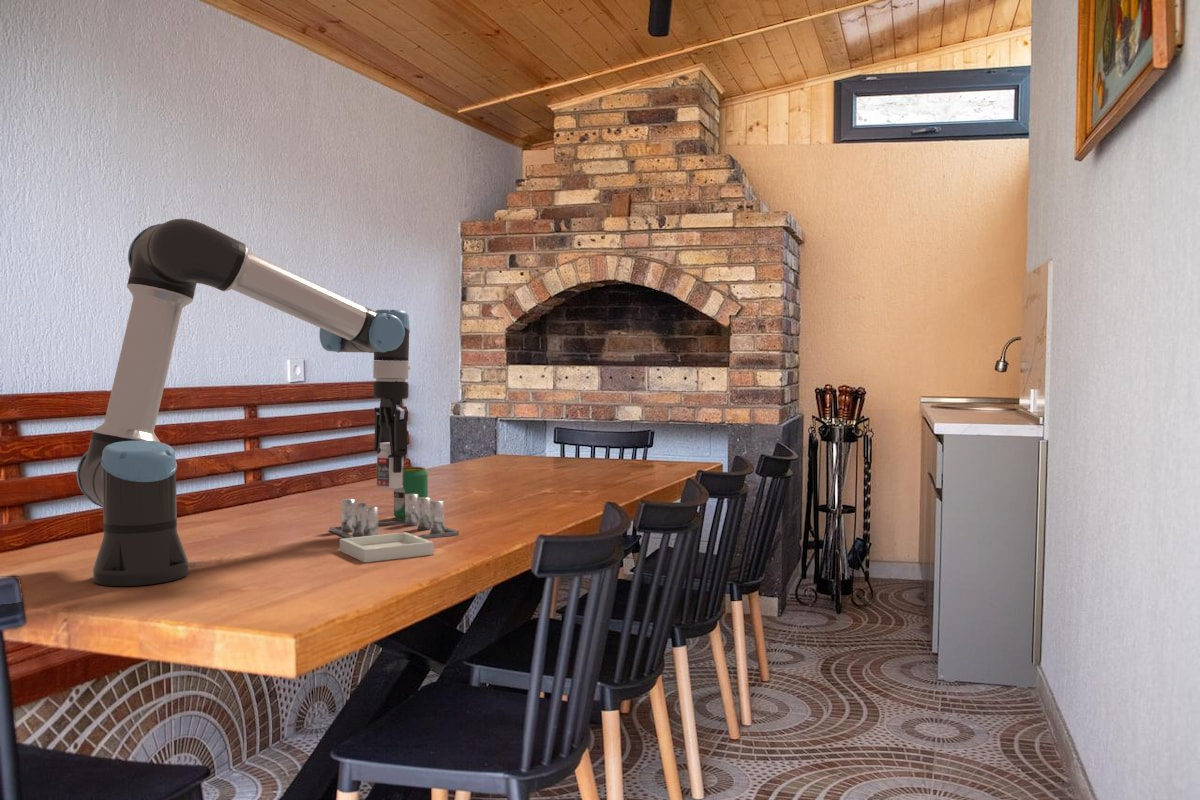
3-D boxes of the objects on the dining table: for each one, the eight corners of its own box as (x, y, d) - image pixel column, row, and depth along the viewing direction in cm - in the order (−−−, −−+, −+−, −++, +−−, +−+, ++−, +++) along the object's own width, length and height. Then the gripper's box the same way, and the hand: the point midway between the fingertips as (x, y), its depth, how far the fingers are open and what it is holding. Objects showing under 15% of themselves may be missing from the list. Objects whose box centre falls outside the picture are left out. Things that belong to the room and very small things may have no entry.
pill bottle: (374, 489, 219) (374, 443, 219) (379, 486, 224) (379, 441, 224) (401, 489, 219) (401, 443, 219) (405, 486, 225) (405, 442, 224)
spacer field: (362, 545, 207) (362, 511, 206) (328, 530, 225) (327, 498, 225) (460, 534, 219) (460, 502, 219) (420, 521, 237) (419, 491, 237)
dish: (364, 562, 189) (364, 549, 189) (339, 550, 201) (339, 538, 200) (433, 554, 196) (433, 542, 196) (406, 543, 208) (405, 532, 208)
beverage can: (387, 518, 242) (387, 468, 242) (416, 514, 247) (416, 466, 247) (405, 522, 236) (404, 471, 236) (434, 518, 242) (433, 468, 241)
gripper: (424, 381, 215) (422, 489, 216) (391, 380, 231) (390, 481, 232) (390, 380, 211) (389, 491, 212) (359, 379, 227) (358, 482, 227)
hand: (389, 485), depth 222 cm, fingers closed on pill bottle, 6 cm apart
